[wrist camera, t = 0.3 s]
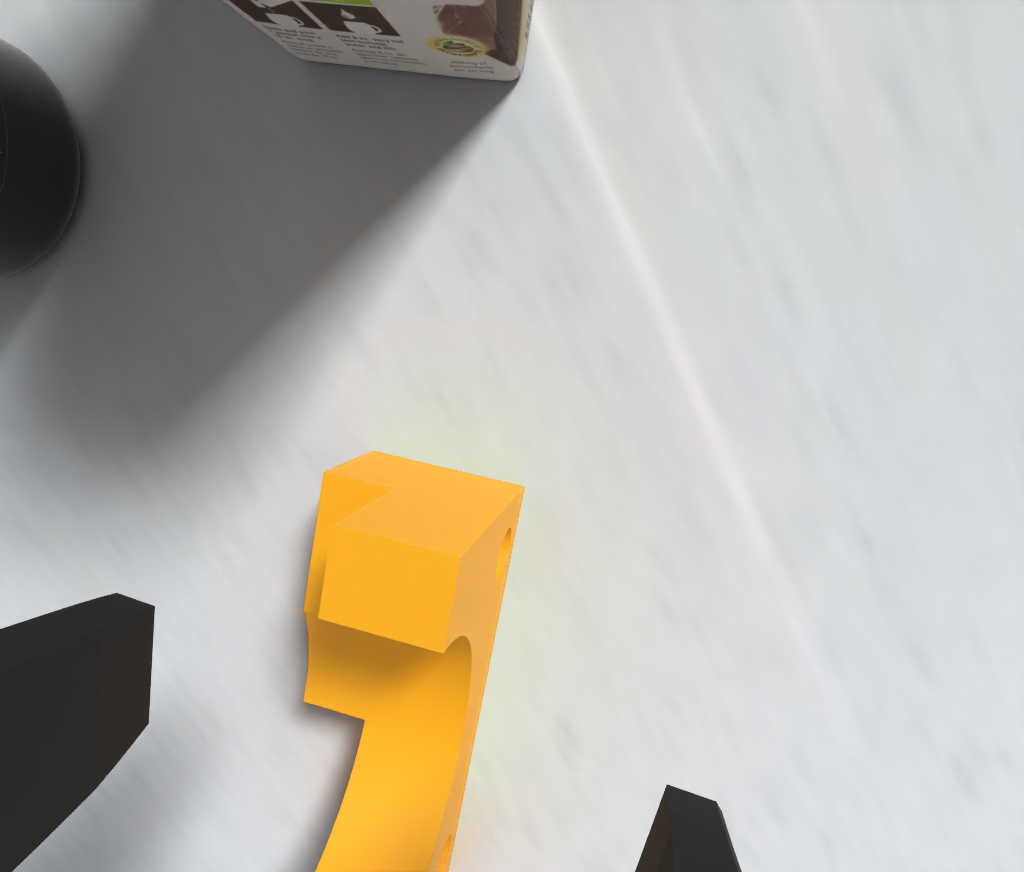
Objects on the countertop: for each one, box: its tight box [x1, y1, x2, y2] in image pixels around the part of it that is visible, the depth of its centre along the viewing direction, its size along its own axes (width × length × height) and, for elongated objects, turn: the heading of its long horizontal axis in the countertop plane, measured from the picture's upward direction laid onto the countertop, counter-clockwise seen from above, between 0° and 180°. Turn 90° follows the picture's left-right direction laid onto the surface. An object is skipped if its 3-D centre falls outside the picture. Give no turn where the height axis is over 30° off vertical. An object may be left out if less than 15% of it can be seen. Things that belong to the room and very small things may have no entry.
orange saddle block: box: [303, 451, 524, 872], centre depth 18 cm, size 12×4×6 cm, turn 169°
